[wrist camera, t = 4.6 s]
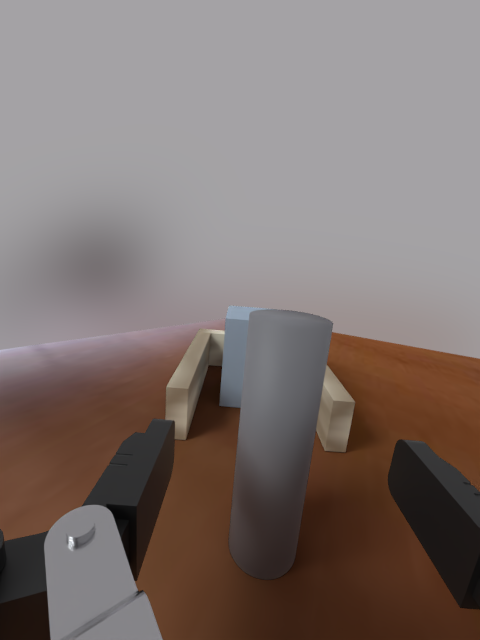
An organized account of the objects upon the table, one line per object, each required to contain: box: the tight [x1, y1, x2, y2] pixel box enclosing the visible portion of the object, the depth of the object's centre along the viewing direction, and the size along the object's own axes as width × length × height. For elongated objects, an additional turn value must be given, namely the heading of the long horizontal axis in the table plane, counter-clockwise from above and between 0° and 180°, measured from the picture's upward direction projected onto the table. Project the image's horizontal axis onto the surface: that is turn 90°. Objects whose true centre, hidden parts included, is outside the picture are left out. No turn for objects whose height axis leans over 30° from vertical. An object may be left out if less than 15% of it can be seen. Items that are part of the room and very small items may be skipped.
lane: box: [165, 329, 355, 452], centre depth 27 cm, size 13×16×4 cm
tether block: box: [219, 306, 333, 580], centre depth 20 cm, size 6×20×11 cm, turn 179°
